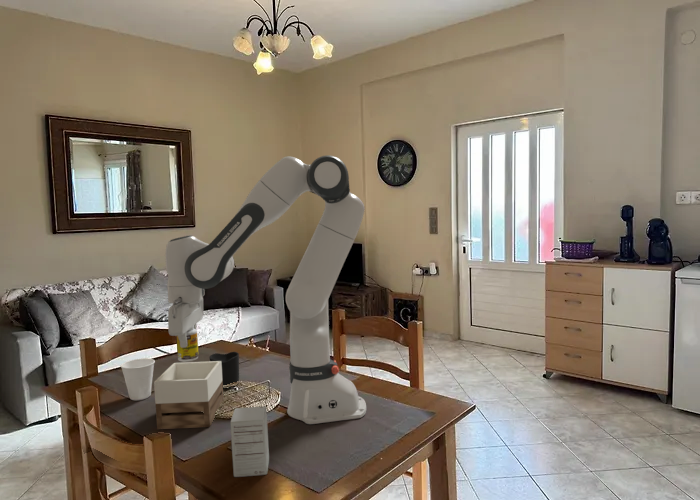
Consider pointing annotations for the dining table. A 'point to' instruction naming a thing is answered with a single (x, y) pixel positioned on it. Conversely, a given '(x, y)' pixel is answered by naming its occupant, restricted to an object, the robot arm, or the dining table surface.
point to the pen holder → (228, 366)
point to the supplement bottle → (189, 347)
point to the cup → (138, 377)
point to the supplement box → (250, 441)
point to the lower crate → (189, 412)
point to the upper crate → (188, 382)
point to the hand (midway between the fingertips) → (188, 343)
